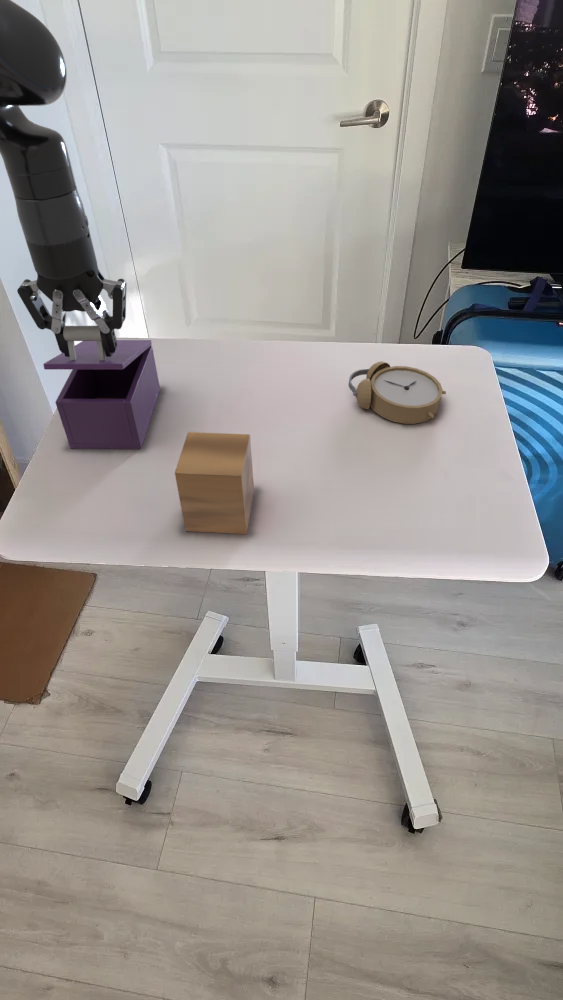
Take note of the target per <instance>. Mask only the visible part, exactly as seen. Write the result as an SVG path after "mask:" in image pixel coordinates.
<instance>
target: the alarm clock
mask: <svg viewBox="0 0 563 1000" xmlns="http://www.w3.org/2000/svg"><path fill="white" fill-rule="evenodd" d="M364 375H366V376H365V377H366V378H364V379H362V380H361V381H359V383H358V385H357V388H356V386H355V385H353V383H352V381H353V379H355V378H356V377H358V376H364ZM348 388H349V390H350V391H351V392H352V396H353V397H355V398H356V402H357V404H358V406H359V407H360V408H361V409H366V410H369V408H370V407H371V409H372V410H373V411H374V412H375V413H376V414H377V415H379V416H380V417H382V418H384V419H386V420H389V421H391V422H395V423H400V424H410V425H411V424H412V425H415V424H420V423H425V422H427V421H429V420H431V419H434V418H435V416H436V414H438V411H439V405H440V402H441V399H442V396H443V395H446V394H447V391H445V390H443V386H442V384H441V383H440V381H439V380H438V379H437V378H436V377H435V376H433V375H432V374H430V373H429V372H427V371H425V370H422V369H420V368H416V367H411V366H407V365H406V366H405V365H393V366H391V364H390V363H388V362H385V361H377V362H375V363H373V364H372V365H371V366H370V367H369V368H363V369H357V370H355V371H354V372H352V373H351V374H350V376H349V379H348Z"/></svg>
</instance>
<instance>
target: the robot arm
mask: <svg viewBox="0 0 563 1000" xmlns="http://www.w3.org/2000/svg"><path fill="white" fill-rule="evenodd" d="M67 80H68V70H67V64H66V60H65V56H64V53H63V51H62V49H61V47H60V45H59V42H58V41H57V39H56V38H55V37H54V35H53V33H52V32H51V31H50V30H49V28H48V27H47V26H46V25H45V24H44V23H43V22H42V21H41V20H40V19H38V18H37V17H36V16H35V15H34V14H32V13H31V12H30V11H28V10H26V9H25V8H23V7H22V6H21V5H19V4H17V3H16V2H14V1H13V0H0V156H1V158H2V161H3V164H4V168H5V170H6V173H7V178H8V180H9V184H10V186H11V190H12V193H13V197H14V201H15V206H16V212H17V217H18V220H19V223H20V226H21V229H22V232H23V236H24V240H25V243H26V246H27V249H28V252H29V255H30V259H31V261H32V264H33V265H32V266H33V269H34V271H35V272H36V274H37V276H36V280H30V279H29V278H27V279H24V280H23V282H22V283H21V284H20V285H19V287H18V288H17V290H16V291H17V294H18V296H19V298H20V299H21V301H22V302H23V304H24V306H25V308H26V310H27V312H28V313H29V315H30V316H31V319H32V320H33V322H34V323H35V326H36V327H37V328H38V329H40V330H45V329H47V330H49V331H51V332H52V333H53V334H54V337H55V340H56V343H57V346H58V349H59V351H60V353H64V354H65V356H66V357H70V355H69V348H68V342H67V341H66V340H65V339H64V335H63V329H64V326H66V322H67V313H70V312H73V311H78V312H81V313H82V312H85V313H86V314H87V316H88V317H89V319H90V320H91V321H93V322H94V323H95V325H96V326H98V327H99V329H100V330H101V333H100V335H101V339H102V343H103V347H104V351H105V355H106V357H112V355H113V353H115V351H116V348H117V340H118V339H117V336H116V331H115V330H120V329H122V327H123V324H124V322H125V320H126V318H127V281H126V280H125V279H124V278H119V279H117V281H116V280H111V279H107V278H105V277H104V275H103V274H102V273H101V271H100V269H99V265H98V260H97V256H96V252H95V248H94V243H93V239H92V235H91V230H90V227H89V220H88V216H87V215H86V210H85V207H84V204H83V201H82V199H81V196H80V193H79V190H78V187H77V182H76V179H75V175H74V171H73V166H72V163H71V158H70V153H69V151H68V146H67V144H66V141H65V139H64V136H62V134H61V133H60V132H59V131H57V130H55V129H52V128H49V127H47V126H44V125H43V126H42V125H40V124H38V123H35V122H33V121H31V120H30V119H29V118H28V116H26V115H25V113H24V112H23V110H22V109H21V107H43V106H45V107H46V106H48V105H51V104H54V103H55V102H57V101H58V100H59V99H60V98H61V97H62V95H63V94H64V91H65V89H66V86H67V82H68V81H67ZM103 290H104V291H106V292H107V297H108V298H109V299H110V300H112V315H111V314H110V312H109V311H108V309H107V305H106V303H105V301H104V300H103V298H102V297H101V293H102V291H103ZM41 294H43V295H44V296H46V298H48V299H49V301H51V302H52V306H51V314H50V311H49V309H48V308H47V306H46V304H45V303H44V301H43V299H42V297H41Z"/></svg>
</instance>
